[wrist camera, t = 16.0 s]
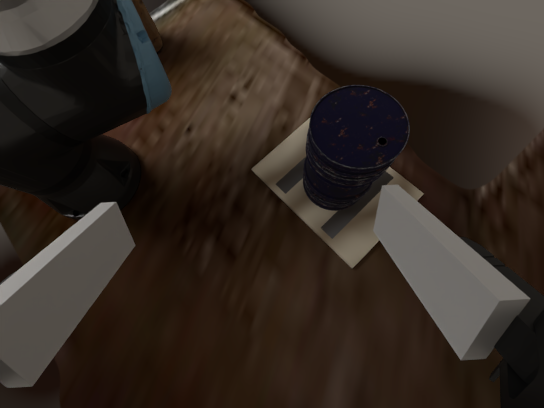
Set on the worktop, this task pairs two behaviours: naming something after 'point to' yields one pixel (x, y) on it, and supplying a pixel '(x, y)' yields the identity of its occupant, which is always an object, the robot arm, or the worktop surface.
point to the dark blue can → (351, 144)
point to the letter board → (325, 223)
